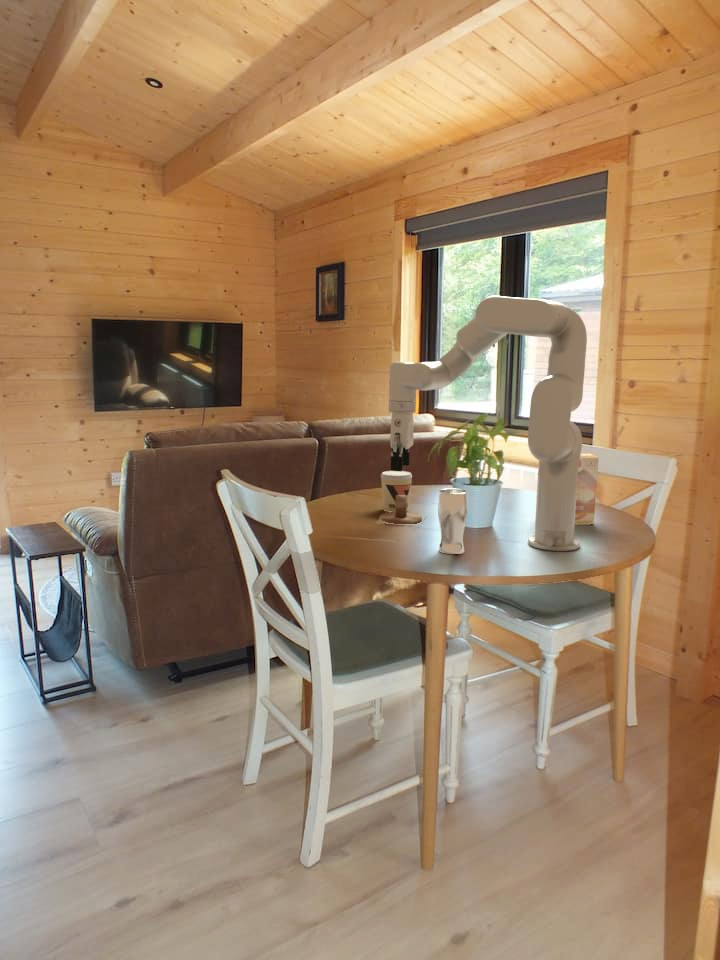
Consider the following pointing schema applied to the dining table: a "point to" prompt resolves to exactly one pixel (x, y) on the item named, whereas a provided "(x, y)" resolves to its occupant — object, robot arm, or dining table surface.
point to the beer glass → (452, 519)
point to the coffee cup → (395, 488)
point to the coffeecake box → (586, 489)
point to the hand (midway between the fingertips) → (400, 468)
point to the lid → (401, 513)
